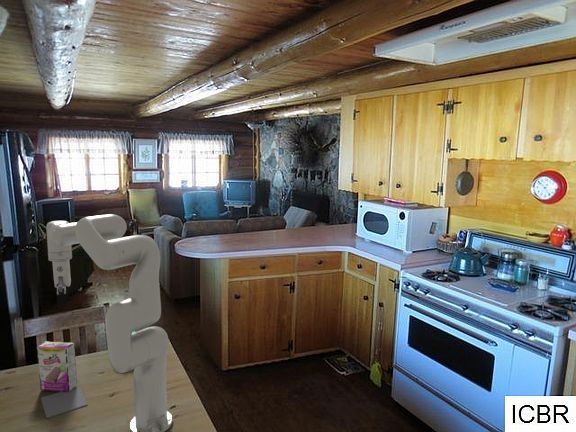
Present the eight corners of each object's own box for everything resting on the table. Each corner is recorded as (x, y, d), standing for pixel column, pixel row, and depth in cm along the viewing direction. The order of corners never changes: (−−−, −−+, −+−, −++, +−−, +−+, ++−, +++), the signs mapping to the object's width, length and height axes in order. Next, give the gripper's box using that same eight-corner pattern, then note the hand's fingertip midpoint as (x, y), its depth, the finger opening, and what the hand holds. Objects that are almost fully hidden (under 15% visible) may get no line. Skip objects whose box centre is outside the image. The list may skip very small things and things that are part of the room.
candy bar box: (39, 391, 146) (35, 346, 144) (49, 383, 151) (45, 340, 149) (69, 392, 145) (66, 348, 143) (78, 385, 150) (74, 341, 148)
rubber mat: (87, 405, 139) (87, 404, 139) (46, 418, 132) (46, 417, 132) (79, 387, 150) (79, 386, 149) (40, 398, 142) (40, 397, 142)
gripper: (71, 260, 145) (73, 306, 148) (72, 248, 160) (75, 291, 163) (46, 262, 142) (49, 309, 145) (50, 250, 157) (53, 293, 160)
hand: (63, 299), depth 154 cm, fingers open, 9 cm apart
